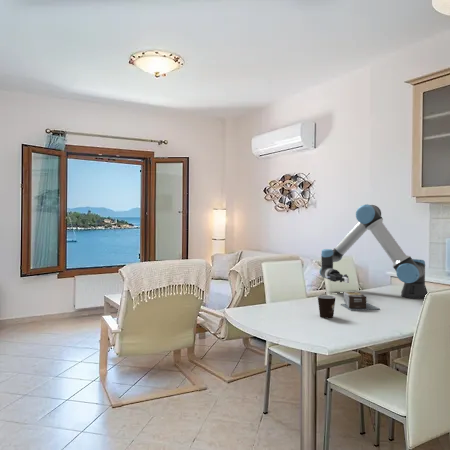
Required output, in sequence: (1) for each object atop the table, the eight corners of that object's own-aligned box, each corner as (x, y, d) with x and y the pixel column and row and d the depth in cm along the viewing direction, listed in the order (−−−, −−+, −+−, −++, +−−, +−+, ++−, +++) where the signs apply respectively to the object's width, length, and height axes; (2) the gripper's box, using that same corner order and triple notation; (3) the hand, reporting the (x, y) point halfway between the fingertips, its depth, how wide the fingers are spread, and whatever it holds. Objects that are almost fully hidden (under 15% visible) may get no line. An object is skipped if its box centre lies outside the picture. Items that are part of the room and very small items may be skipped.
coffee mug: (325, 319, 203) (325, 299, 203) (314, 316, 211) (314, 296, 210) (343, 317, 208) (343, 296, 208) (331, 313, 216) (331, 294, 216)
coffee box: (359, 291, 239) (367, 296, 223) (359, 302, 239) (366, 308, 223) (343, 291, 240) (349, 296, 224) (343, 302, 240) (349, 308, 224)
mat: (367, 304, 238) (367, 303, 238) (379, 309, 224) (379, 308, 224) (340, 304, 237) (340, 303, 237) (351, 310, 222) (350, 309, 222)
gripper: (342, 280, 270) (358, 286, 247) (322, 281, 268) (337, 287, 245) (342, 268, 270) (358, 274, 246) (322, 269, 268) (337, 274, 245)
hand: (347, 280), depth 246 cm, fingers closed
